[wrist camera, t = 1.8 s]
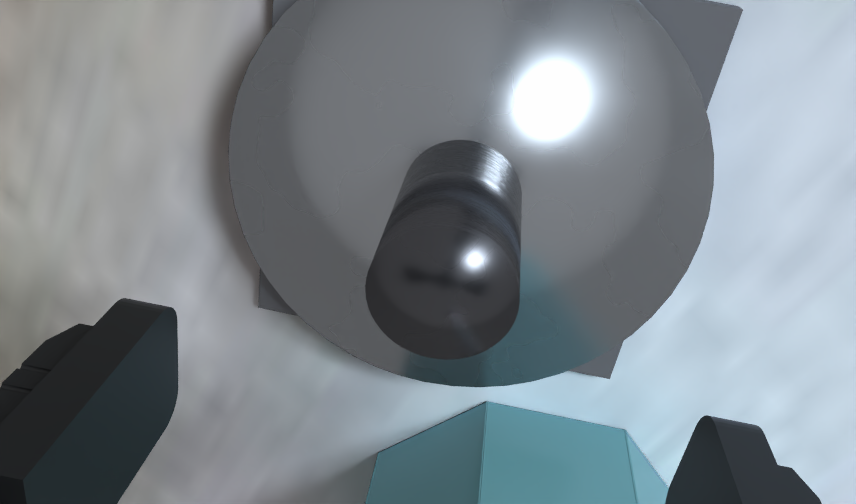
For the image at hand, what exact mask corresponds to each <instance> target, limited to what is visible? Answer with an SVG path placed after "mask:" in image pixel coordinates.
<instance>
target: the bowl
mask: <svg viewBox="0 0 856 504" xmlns="http://www.w3.org/2000/svg"><path fill="white" fill-rule="evenodd" d="M668 490H669V488H668V487H667V485H666V484H665V483H664V481H663V480H662V479H661V477H660V476H659V475H658V473H657V472H656V471H655V469H654V468H653V467H652V465H651V464H650V463H649V461H648V460H647V459H646V457H645V456H644V454H643V453H642V452H641V450H640V449H639V448H638V446H637V445H636V444H635V442H634V441H633V440H632V438H631V437H630V436H629V434H628V433H627V431H626V430H623V429H618V428H613V427H608V426H603V425H599V424H594V423H589V422H584V421H579V420H574V419H569V418H564V417H560V416H555V415H550V414H545V413H540V412H535V411H530V410H526V409H521V408H516V407H511V406H506V405H501V404H496V403H491V402H487V401H486V403H484V404H481V405H479V406H477V407H475V408H473V409H471V410H469V411H466V412H464V413H462V414H460V415H458V416H456V417H454V418H452V419H449V420H447V421H445V422H443V423H441V424H439V425H437V426H435V427H432V428H430V429H428V430H426V431H424V432H422V433H420V434H418V435H415V436H413V437H411V438H409V439H407V440H405V441H403V442H401V443H398V444H396V445H394V446H392V447H390V448H388V449H386V450H384V451H381V452H379V453H378V455H377V459H376V463H375V467H374V471H373V475H372V479H371V483H370V487H369V491H368V495H367V499H366V502H365V504H665V502H666V497H667V493H668Z"/></svg>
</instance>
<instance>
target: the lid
mask: <svg viewBox="0 0 856 504" xmlns="http://www.w3.org/2000/svg"><path fill="white" fill-rule="evenodd" d="M228 153H229V175H230V184H231V189H232V195H233V200H234V206H235V210H236V213H237V216H238V219H239V222H240V225H241V228H242V231H243V234H244V236H245V239H246V241H247V243H248V245H249V247H250V249H251V251H252V254H253V256H254V258H255V260H256V261H257V263H258V265H259V266H260V268H261V269H262V271H263V273H264V274H265V276H266V277H267V279H268V281H269V282H270V283H271V285H272V286H273V287H274V288H275V290H276V291H277V292H278V293H279V295H280V296H281V297H282V298H283V300H284V301H285V302H286V303H287V304H288V305H289V306H290V307H291V308H292V309H293V310H294V311H295V312H296V313H297V314H298V315H299V316H300V317H301V318H302V319H303V320H304V321H305V322H306V323H307V324H308V325H309V326H311V327H312V328H313V329H314V330H316V331H317V332H318V333H319V334H321V335H322V336H323V337H324V338H326V339H327V340H329V341H330V342H332V343H333V344H335V345H337V346H338V347H340V348H341V349H343V350H344V351H346V352H348V353H349V354H351V355H353V356H355V357H357V358H359V359H361V360H363V361H365V362H367V363H369V364H371V365H373V366H376V367H379V368H381V369H384V370H387V371H389V372H392V373H395V374H397V375H401V376H405V377H408V378H412V379H416V380H420V381H424V382H430V383H436V384H443V385H449V386H466V387H490V386H506V385H513V384H519V383H525V382H531V381H535V380H539V379H543V378H546V377H550V376H553V375H557V374H560V373H563V372H565V371H568V370H570V369H573V368H575V367H578V366H580V365H583V364H585V363H587V362H589V361H591V360H593V359H594V358H596V357H598V356H600V355H602V354H604V353H606V352H607V351H609V350H611V349H612V348H613V347H615V346H616V345H618V344H619V343H621V342H622V341H623V340H625V339H626V338H628V337H629V336H631V335H632V334H633V333H634V332H635V331H636V330H638V329H639V328H640V327H641V326H642V325H643V324H644V323H645V322H646V321H648V320H649V319H650V318H651V317H652V316H653V315H654V314H655V313H656V312H657V310H658V309H659V308H660V307H661V306H662V305H663V303H664V302H665V301H666V300H667V299H668V298H669V296H670V295H671V294H672V293H673V291H674V289H675V288H676V286H677V285H678V283H679V282H680V280H681V279H682V277H683V276H684V274H685V273H686V271H687V269H688V267H689V265H690V263H691V261H692V259H693V257H694V255H695V253H696V251H697V248H698V246H699V244H700V241H701V238H702V235H703V232H704V229H705V225H706V222H707V219H708V216H709V210H710V204H711V198H712V191H713V181H714V152H713V145H712V137H711V130H710V123H709V120H708V116H707V113H706V109H705V106H704V103H703V99H702V96H701V92H700V90H699V88H698V86H697V84H696V81H695V79H694V77H693V75H692V73H691V71H690V69H689V66H688V64H687V62H686V60H685V59H684V57H683V56H682V54H681V53H680V51H679V50H678V48H677V47H676V45H675V44H674V42H673V41H672V39H671V38H670V36H669V35H668V33H667V32H666V31H665V29H664V28H663V27H662V26H661V24H660V23H659V22H658V21H657V20H656V19H655V18H654V16H653V15H652V14H651V13H650V12H649V11H648V10H647V9H646V8H645V7H644V5H643V4H642V3H641V2H640V1H639V0H297V1H296V2H295V3H294V4H293V5H292V6H291V7H290V8H289V9H288V10H287V11H286V12H285V13H284V14H283V15H282V17H281V18H280V19H279V20H278V22H277V23H276V24H275V25H274V27H273V28H272V29H271V30H270V32H269V33H268V34H267V36H266V37H265V38H264V40H263V42H262V43H261V45H260V47H259V49H258V50H257V52H256V54H255V56H254V57H253V59H252V61H251V62H250V64H249V66H248V69H247V71H246V74H245V77H244V79H243V82H242V84H241V87H240V89H239V92H238V95H237V99H236V103H235V108H234V112H233V116H232V120H231V128H230V139H229V150H228Z"/></svg>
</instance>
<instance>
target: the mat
mask: <svg viewBox="0 0 856 504" xmlns="http://www.w3.org/2000/svg"><path fill="white" fill-rule="evenodd" d="M296 1H297V0H273V16H272V28H273V27H274V25H275V24H276V23H277V22H278V20H279V19H280V18H281V17H282V15H283V14H284V13H285V12H286V11H287V10H288V9H289V8H290V7H291V6H292V5H293V4H294V3H295V2H296ZM639 1H640V2H641V3H642V4H643V5H644V7H645V8H646V9H647V10H648V11H649V12H650V13H651V14H652V15H653V16H654V18H655V19H656V20H657V21H658V22H659V23H660V24H661V26H662V27H663V28H664V29H665V31H666V32H667V33H668V35H669V36H670V38H671V39H672V41H673V42H674V44H675V45H676V47H677V48H678V50H679V51H680V53H681V54H682V56H683V57H684V59H685V60H686V62H687V64H688V66H689V69H690V71H691V73H692V75H693V77H694V79H695V81H696V84H697V86H698V88H699V90H700V92H701V96H702V99H703V103H704V106H705V109H706V111H707V108H708V105H709V102H710V100H711V97H712V94H713V91H714V88H715V86H716V83H717V80H718V77H719V75H720V72H721V69H722V66H723V64H724V61H725V58H726V55H727V52H728V50H729V47H730V44H731V41H732V39H733V36H734V33H735V30H736V27H737V25H738V22H739V19H740V16H741V14H742V11H743V9H741V8H740V7H738V6H734V5H728V4H723V3H718V2H712V1H707V0H639ZM258 308H263V309H268V310H273V311H278V312H283V313H288V314H293V315H298V314H297V313H296V312H295V311H294V310H293V309H292V308H291V307H290V306H289V305H288V304H287V303H286V302H285V301H284V300H283V298H282V297H281V296H280V295H279V293H278V292H277V291H276V290H275V288H274V287H273V286H272V285H271V283H270V282H269V281H268V279H267V277H266V276H265V274H264V273H263V271H262V269H261V268H260V285H259V306H258ZM298 316H299V315H298ZM623 341H624V340H623ZM623 341H622V342H621V343H619V344H618V345H616V346H615V347H613V348H612V349H611V350H609V351H607V352H606V353H604V354H602V355H600V356H598V357H596V358H594V359H593V360H591V361H589V362H587V363H585V364H583V365H580V366H578V367H575V368H573V369H570V370H568V371H573V372H578V373H583V374H588V375H593V376H598V377H603V378H608V379H610V377H611V374H612V371H613V368H614V365H615V363H616V360H617V357H618V354H619V352H620V349H621V346H622V343H623Z"/></svg>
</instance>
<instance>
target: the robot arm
mask: <svg viewBox="0 0 856 504" xmlns="http://www.w3.org/2000/svg"><path fill="white" fill-rule="evenodd" d="M177 394H178V338H177V315H176V312H175V310H174V309H173V308H172V307H167V306H162V305H157V304H152V303H147V302H141V301H136V300H131V299H126V298H123V299H120V300H119V301H117V302H116V303H115V304H114V305H113V306H112V307H111V308H110V309H109V310H108V311H107V313H106V314H105V315H104V316H103V317H102V318H101V319H100V320H99V321H98V322H97V323H96V324H95V325H94V326H89V325H84V324H78V325H76V326H74V327H72V328H70V329H68V330H66V331H64V332H62V333H60V334H58V335H56V336H54V337H52V338H50V339H48V340H46V341H45V342H44V343H43V344H42V345H41V346H40V347H39V348H38V349H36V350H35V351H34V352H33V353H32V354H31V355H30V356H29V357H28V358H27V359H26V360H25V361H24V362H23V363H22V366H21V368H20V369H16V370H15V371H14V372H13V373H12V374H11V375H10V376H9V377H8V378H7V379H6V380H5V381H4V382H3V383H2V386H1V388H0V504H117V503H118V501H119V500H120V498H121V497H122V495H123V494H124V492H125V490H126V489H127V487H128V486H129V484H130V483H131V481H132V480H133V478H134V477H135V475H136V473H137V472H138V470H139V469H140V467H141V466H142V464H143V463H144V461H145V460H146V458H147V457H148V455H149V453H150V452H151V450H152V449H153V447H154V446H155V444H156V443H157V441H158V440H159V438H160V436H161V435H162V433H163V432H164V430H165V429H166V427H167V425H168V423H169V421H170V419H171V416H172V414H173V411H174V408H175V404H176V400H177ZM665 504H822V503H821V501H820V499H819V498H818V497H817V496H816V494H815V493H814V492H813V491H812V490H811V489H810V488H809V487H808V486H807V484H806V483H805V482H804V481H803V480H802V479H801V478H800V477H799V476H798V474H797V473H796V472H795V471H794V470H793V469H792V468H789V467H784V466H779V465H777V463H776V460H775V458H774V456H773V453H772V451H771V449H770V446H769V444H768V442H767V439H766V437H765V435H764V433H763V431H762V429H761V428H760V427H759V426H757V425H752V424H747V423H742V422H737V421H732V420H727V419H722V418H717V417H712V416H704V417H702V418H701V419H700V420H699V422H698V423H697V425H696V427H695V430H694V432H693V434H692V436H691V439H690V441H689V443H688V446H687V448H686V450H685V452H684V455H683V457H682V459H681V462H680V464H679V466H678V468H677V471H676V473H675V475H674V478H673V480H672V482H671V484H670V487H669V490H668V493H667V497H666V502H665Z"/></svg>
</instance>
